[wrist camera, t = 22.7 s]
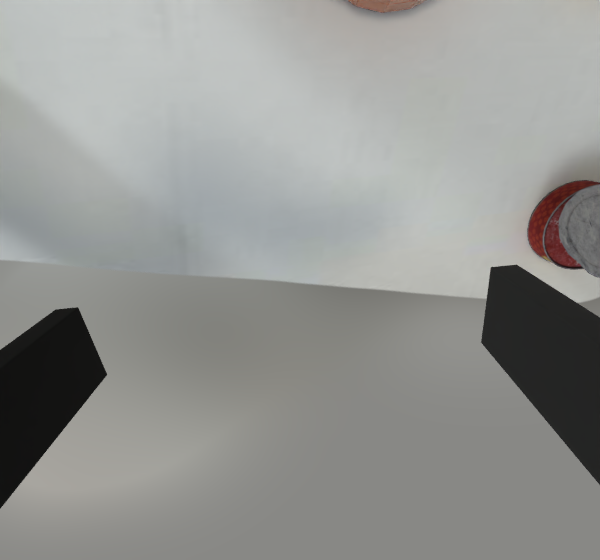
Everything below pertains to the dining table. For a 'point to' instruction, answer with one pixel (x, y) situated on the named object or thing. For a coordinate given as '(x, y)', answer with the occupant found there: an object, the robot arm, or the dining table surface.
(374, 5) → the bowl
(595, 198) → the canned food
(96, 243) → the dining table surface
